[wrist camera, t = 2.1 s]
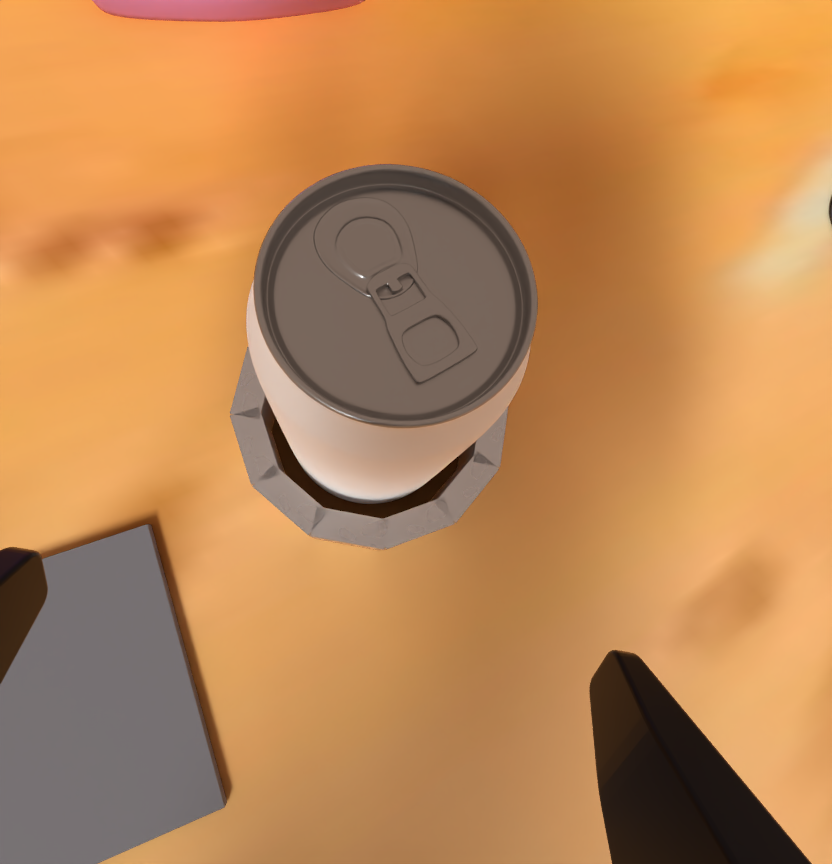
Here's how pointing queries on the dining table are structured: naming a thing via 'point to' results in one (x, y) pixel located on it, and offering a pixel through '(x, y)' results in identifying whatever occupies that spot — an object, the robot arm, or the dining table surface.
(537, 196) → the dining table surface
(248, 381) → the holder
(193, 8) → the teakettle
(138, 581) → the mat
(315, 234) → the can
